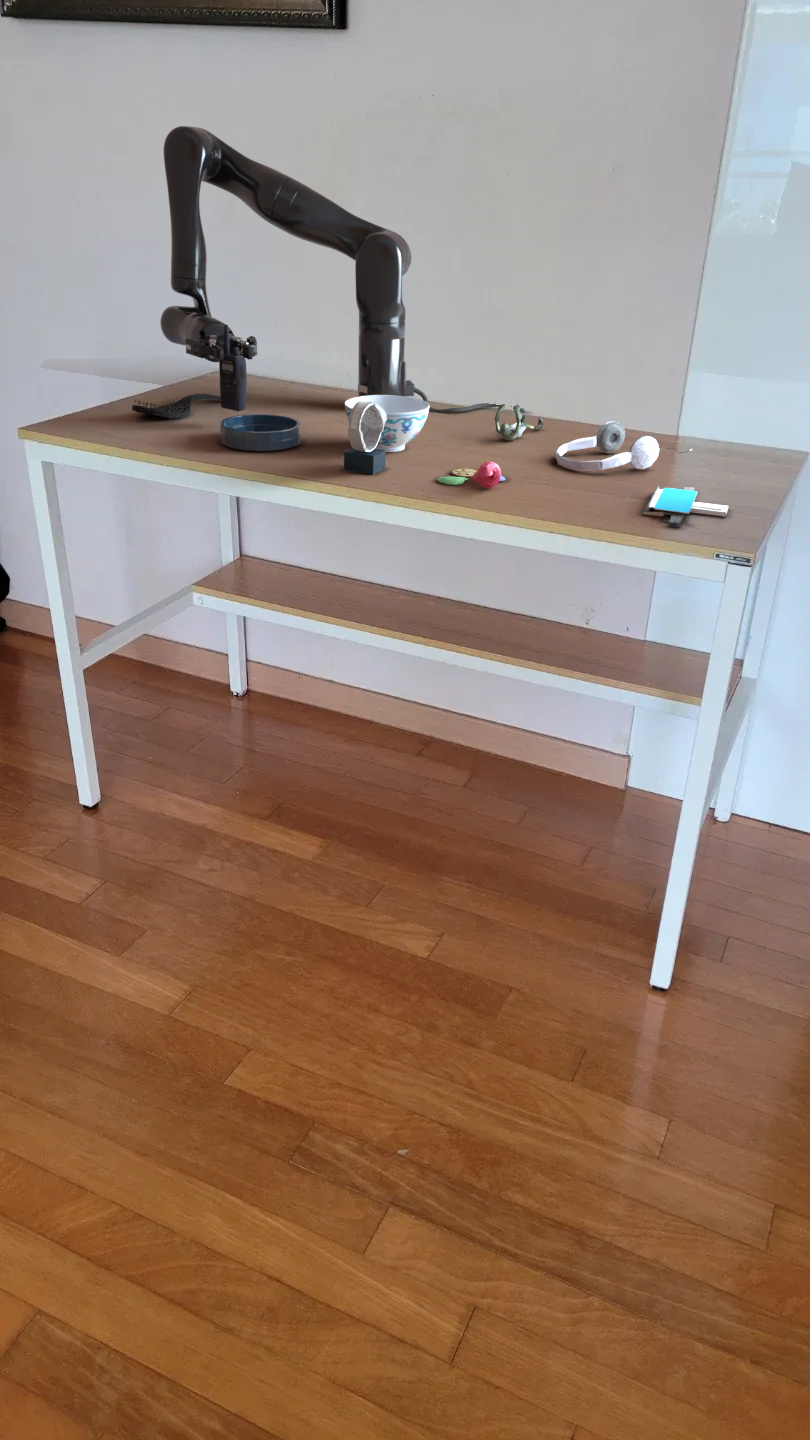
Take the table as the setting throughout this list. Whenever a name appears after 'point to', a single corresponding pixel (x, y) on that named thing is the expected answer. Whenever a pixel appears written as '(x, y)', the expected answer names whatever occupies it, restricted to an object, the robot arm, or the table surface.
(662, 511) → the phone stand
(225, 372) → the two-way radio
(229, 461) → the table surface
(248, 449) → the bowl
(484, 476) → the toy pieces
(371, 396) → the chinaware
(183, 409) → the hairbrush
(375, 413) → the watch
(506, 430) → the zombie figurine
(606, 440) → the headphones
